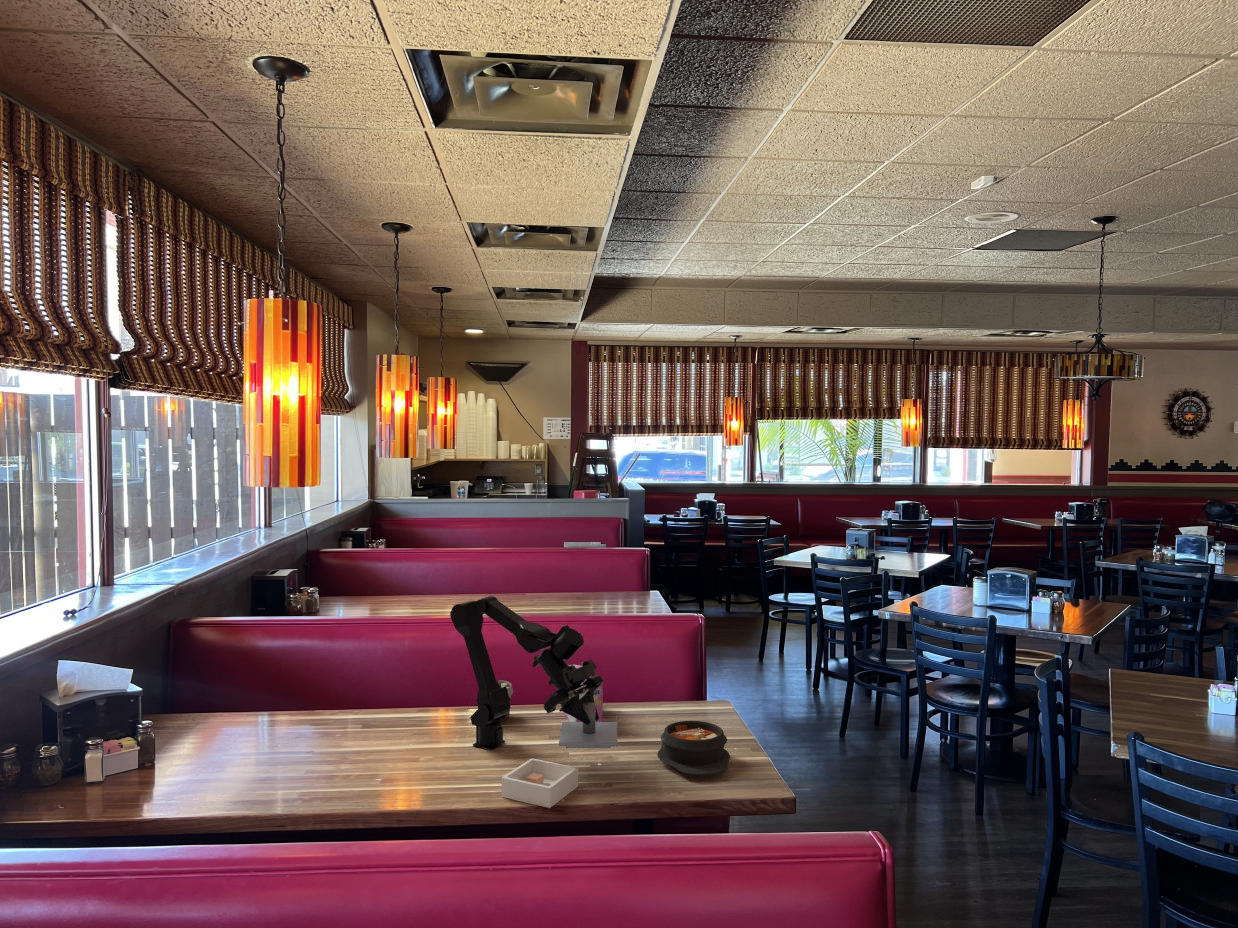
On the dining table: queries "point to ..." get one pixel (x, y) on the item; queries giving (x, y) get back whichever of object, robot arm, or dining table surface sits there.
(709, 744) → the casserole
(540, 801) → the crate
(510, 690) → the food container
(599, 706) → the gum box
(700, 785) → the dining table surface
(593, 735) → the lid
